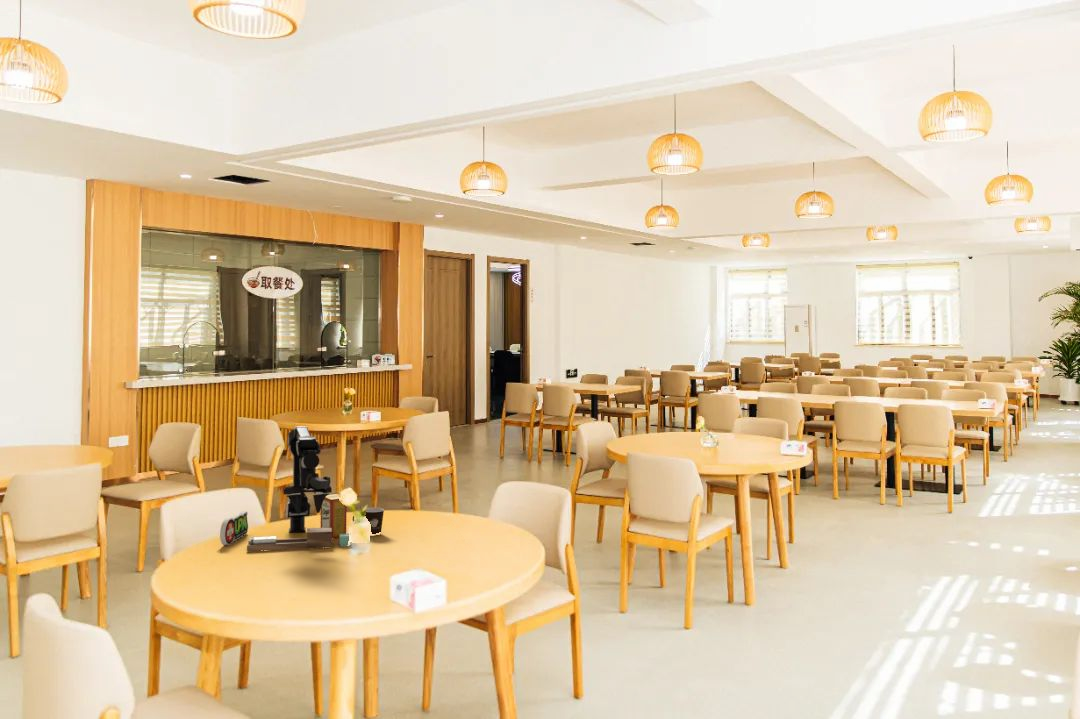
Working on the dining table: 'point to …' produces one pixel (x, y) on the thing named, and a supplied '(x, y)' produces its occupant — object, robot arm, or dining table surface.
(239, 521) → the sign
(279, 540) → the housing
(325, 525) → the baking soda box
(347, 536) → the teal cube block
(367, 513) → the coffee mug
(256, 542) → the grey rectangular block
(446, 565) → the dining table surface
